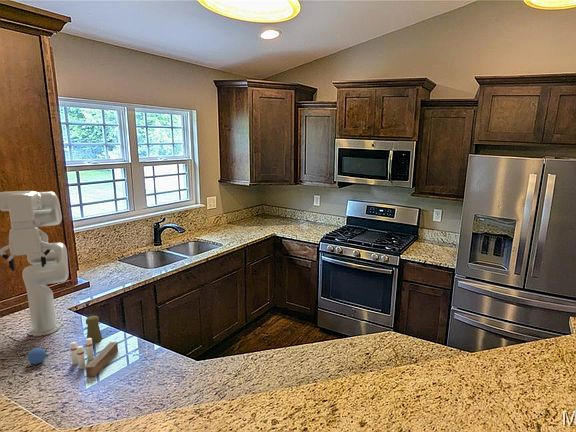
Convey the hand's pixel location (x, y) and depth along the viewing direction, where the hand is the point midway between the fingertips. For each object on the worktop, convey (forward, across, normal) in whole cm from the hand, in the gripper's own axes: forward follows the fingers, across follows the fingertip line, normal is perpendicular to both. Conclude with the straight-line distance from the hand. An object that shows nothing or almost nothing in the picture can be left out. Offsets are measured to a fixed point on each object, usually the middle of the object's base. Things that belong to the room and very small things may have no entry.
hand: (28, 268), depth 144 cm
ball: (+34, 0, +7) cm, 34 cm away
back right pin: (+37, -15, +19) cm, 44 cm away
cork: (+37, -20, -2) cm, 42 cm away
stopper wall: (+37, -22, +20) cm, 48 cm away
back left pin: (+37, -18, +14) cm, 43 cm away
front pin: (+37, -13, +15) cm, 42 cm away
